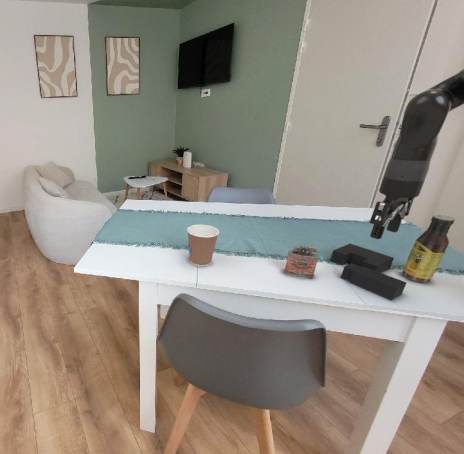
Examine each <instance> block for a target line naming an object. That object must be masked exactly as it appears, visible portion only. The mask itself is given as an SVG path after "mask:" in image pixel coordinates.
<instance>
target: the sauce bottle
mask: <svg viewBox="0 0 464 454" xmlns="http://www.w3.org/2000/svg"><path fill="white" fill-rule="evenodd" d="M455 220H456V219H455V218H454V217H452V216H449V215H444V214H435V215H433V216H432V217H431V219H430V221H431V222H430V223H429V226H428V227H427V229H426V230H425V231H424V232H423V233H422V234H420V236H418V237H417V238H416V239H415V241H414V244H413V246H412V248H411V250H410V252H409V255H408V257H407V259H406V261H405V263H404V266H403V268H402V276H404V277H405V278H406V279H408V280H410V281H413V282H417V283H429V282H431V280H432V279H433V277H434V275H435V273H436V272H437V269H438V267H439V266H440V264H441V261H442V260H443V257H444V255H445V254H446V250H447V248H448V246H449V244H450V241H449V238H448V233H449V231H450V228H451V226H452V225H454V222H455Z"/></svg>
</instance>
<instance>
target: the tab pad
mask: <svg viewBox="0 0 464 454" xmlns="http://www.w3.org/2000/svg"><path fill="white" fill-rule="evenodd" d="M340 279H343V280H345V281H348V282H349V284H351V285H354V286H356V287H359V288H360V289H364V290H365V291H368V292H370V293H373V294H375V295H378V296H380V297H382V298H384V299H386V300H389V301H393V300H395V299H397V298H399V297H400V296H402V295H403V293H404V290H405V287H406V286H407V281H404V280H401V279H398V278H396V277H394V276H391V275H388V274H385V273H384V272H382V273H380V272H377V271H375V270H372V269H369V268H367V267H364V266H363V267H361V266H358V265H356V264H353V263H351V264H349V263H347V264H345V265H343V268H342V272H341V275H340Z"/></svg>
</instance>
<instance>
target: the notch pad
mask: <svg viewBox="0 0 464 454" xmlns="http://www.w3.org/2000/svg"><path fill="white" fill-rule="evenodd" d="M394 258H395V257H393V256H390V255H387V254H384V253H380V252H377V251H374V250H372V249H368V248H365V247H363V246H359V245H357V244H353V243H348V244H344V245H343V246H341V247H338V248H336V249H333V250H332V253H331V256H330V260H329V261H330V262H332V263H335V264H337V265H339V266H345V265H348V264H351V263H353V264H356V265H358V266H361V267H363V266H364V267H367V268H369V269H372V270H375V271H377V272H380V273H385V272H387V271H388V270H390V269H391V266H392V264H393V262H394Z"/></svg>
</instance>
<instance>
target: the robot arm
mask: <svg viewBox="0 0 464 454" xmlns="http://www.w3.org/2000/svg"><path fill="white" fill-rule="evenodd" d="M463 105H464V68H463V69H462V70H460V71H459V72H457V73H455V74H453V75H452V76H450V77H448V78H446V79H444V80H442V81H441V82H438V83H437V84H435V85H433V86H431V87H430V88H427V89H426V90H424V91H421V92H420V93H418V94H416V95H415V96H413V97H412V98H411V99H410V100H409V102H408V103H407V105H406V106H405V110H404V113H403V116H402V121H401V125H400V130H399V134H398V137H397V140H396V141H395V144H394V147H393V151H392V152H391V156H390V159H389V161H388V162H387V165H386V168H385V170H384V174H383V177H382V180H381V183H380V185H379V189H378V192H379V193H380V194H382V195H384V196H385V197H384V199H383V200H382V201H379V200H378V201H377V202H375V206H374V208H373V211H372V215H371V217H370V219H369V224H371V225H373V226H372V229H371V231H370V235H369V236H370V238H372V239H375V240H381V239H382V238H383V235H384V232H385V229H386V231H388V232H390V233H391V232H392V233H397V232H399V229H400V226H401V223H402V221H403V220H404V219H405V218H406V217H408V215H409V214H410V211H411V208H412V206H413V202H414V200H415V198H418V197H419V196H420V194H421V191H422V189H423V186H424V183H425V181H426V178H427V175H428V173H429V171H430V167H431V165H430V164H431V161H432V158H433V155H434V153H435V150H436V147H437V144H438V139H439V134H440V133H441V130H442V129H443V126H444V124H445V121H446V119H447V117H448V115H449V112H452V111H454V110H455V109H458V108H459V107H460V106H463Z"/></svg>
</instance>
